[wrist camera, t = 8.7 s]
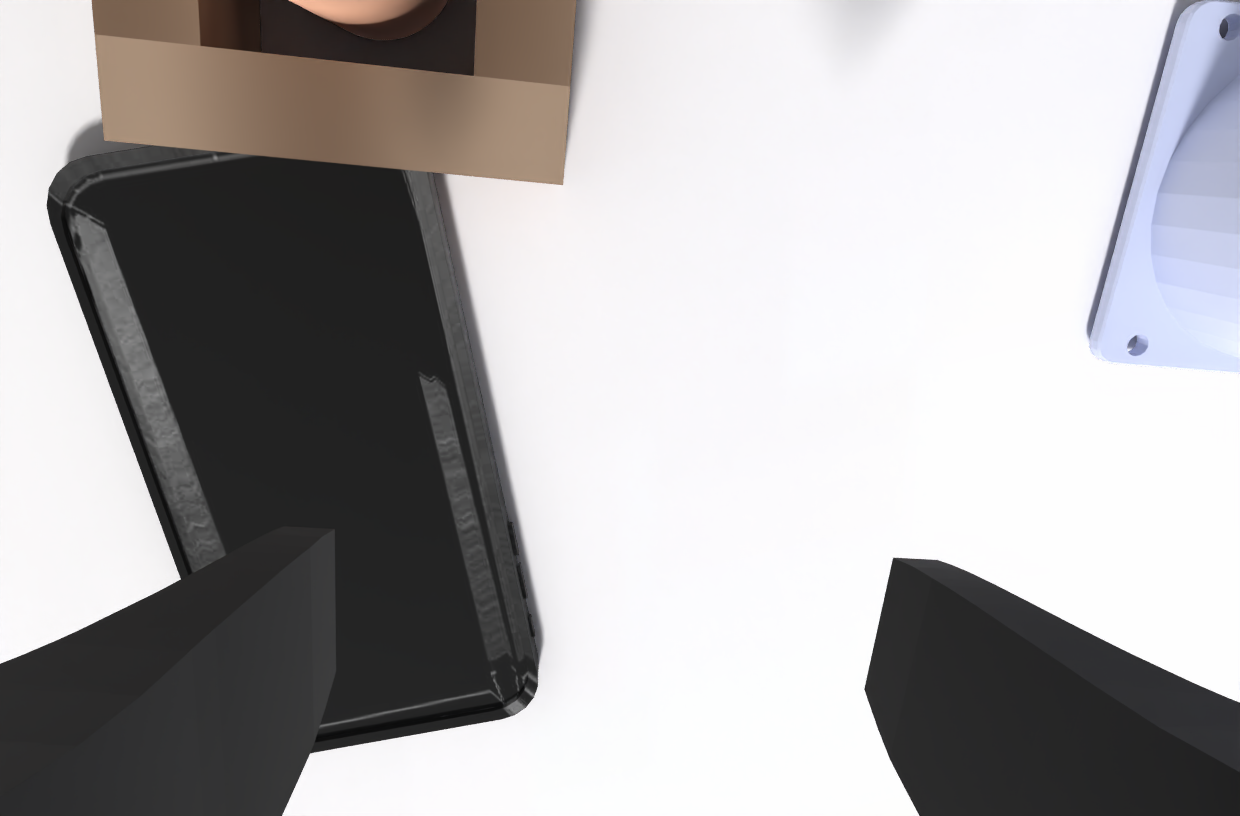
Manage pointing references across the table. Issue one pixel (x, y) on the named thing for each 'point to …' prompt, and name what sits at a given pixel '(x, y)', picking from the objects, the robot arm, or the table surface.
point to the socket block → (338, 91)
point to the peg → (377, 15)
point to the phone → (311, 407)
